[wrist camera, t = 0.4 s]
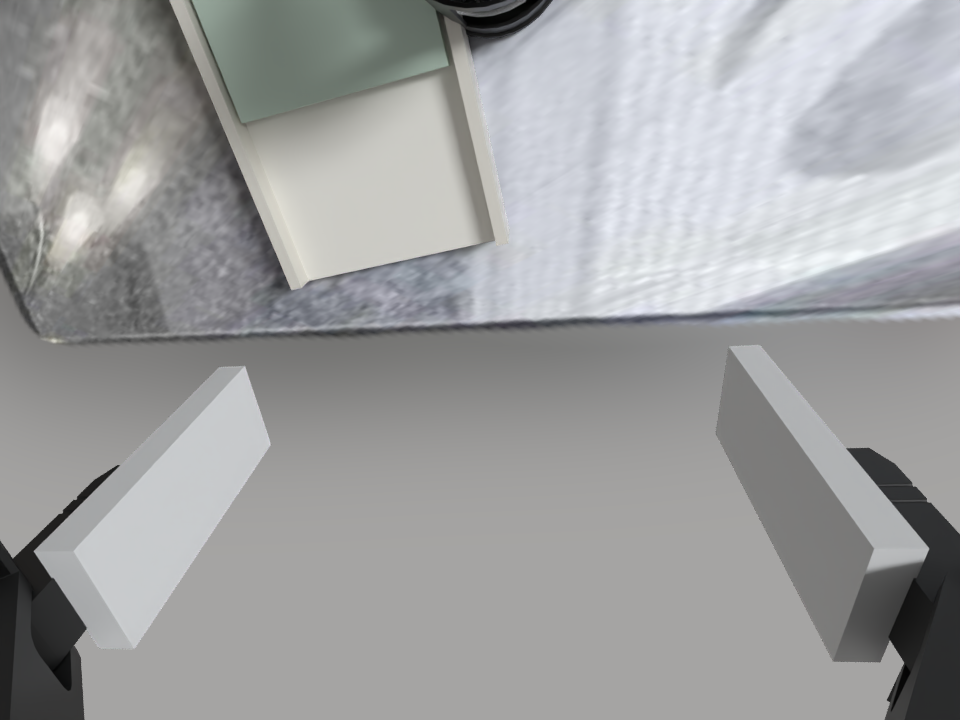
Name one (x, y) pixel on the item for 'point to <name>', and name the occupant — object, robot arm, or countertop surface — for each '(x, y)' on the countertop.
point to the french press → (491, 15)
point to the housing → (367, 166)
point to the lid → (317, 48)
